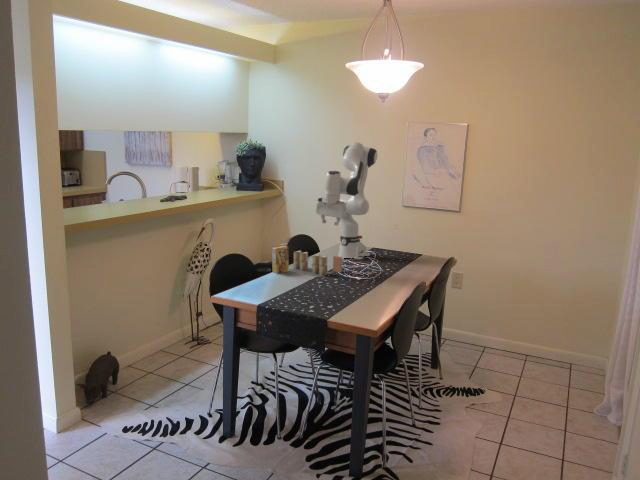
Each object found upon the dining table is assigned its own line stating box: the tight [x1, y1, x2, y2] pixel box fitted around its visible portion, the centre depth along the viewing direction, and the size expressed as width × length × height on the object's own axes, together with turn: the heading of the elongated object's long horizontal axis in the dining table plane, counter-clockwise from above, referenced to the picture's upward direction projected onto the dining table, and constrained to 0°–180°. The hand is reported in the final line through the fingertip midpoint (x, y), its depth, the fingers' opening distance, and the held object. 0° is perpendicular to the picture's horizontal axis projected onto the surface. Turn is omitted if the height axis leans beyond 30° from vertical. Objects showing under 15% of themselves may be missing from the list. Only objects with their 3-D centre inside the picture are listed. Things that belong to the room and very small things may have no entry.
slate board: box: [289, 266, 333, 278], centre depth 294 cm, size 12×24×1 cm, turn 48°
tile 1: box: [293, 250, 303, 269], centre depth 300 cm, size 5×2×10 cm, turn 138°
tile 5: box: [319, 255, 328, 276], centre depth 287 cm, size 5×2×10 cm, turn 138°
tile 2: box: [300, 251, 309, 271], centre depth 296 cm, size 5×2×10 cm, turn 138°
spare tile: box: [332, 255, 343, 273], centre depth 293 cm, size 5×2×10 cm, turn 48°
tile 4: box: [312, 254, 322, 274], centre depth 290 cm, size 5×2×10 cm, turn 138°
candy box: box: [271, 245, 290, 274], centre depth 292 cm, size 9×4×15 cm, turn 130°
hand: (330, 224), depth 292 cm, fingers open, 8 cm apart
